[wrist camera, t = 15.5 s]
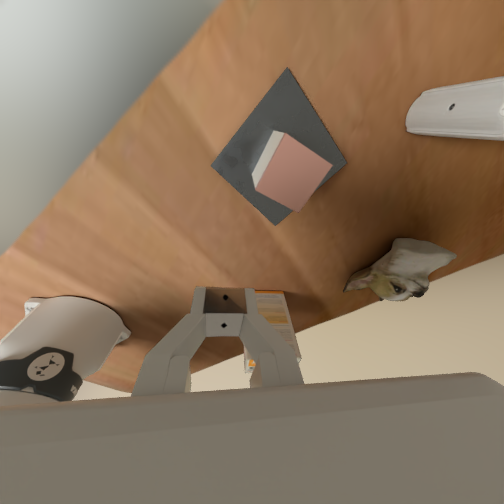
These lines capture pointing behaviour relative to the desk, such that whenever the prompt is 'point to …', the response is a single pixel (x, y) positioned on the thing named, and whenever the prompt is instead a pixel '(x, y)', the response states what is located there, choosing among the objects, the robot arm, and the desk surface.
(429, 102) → the photo printer
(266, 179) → the pink and white block
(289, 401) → the robot arm
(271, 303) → the supplement box
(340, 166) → the grey square base plate
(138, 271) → the desk surface
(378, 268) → the ceramic sculpture
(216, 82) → the desk surface
